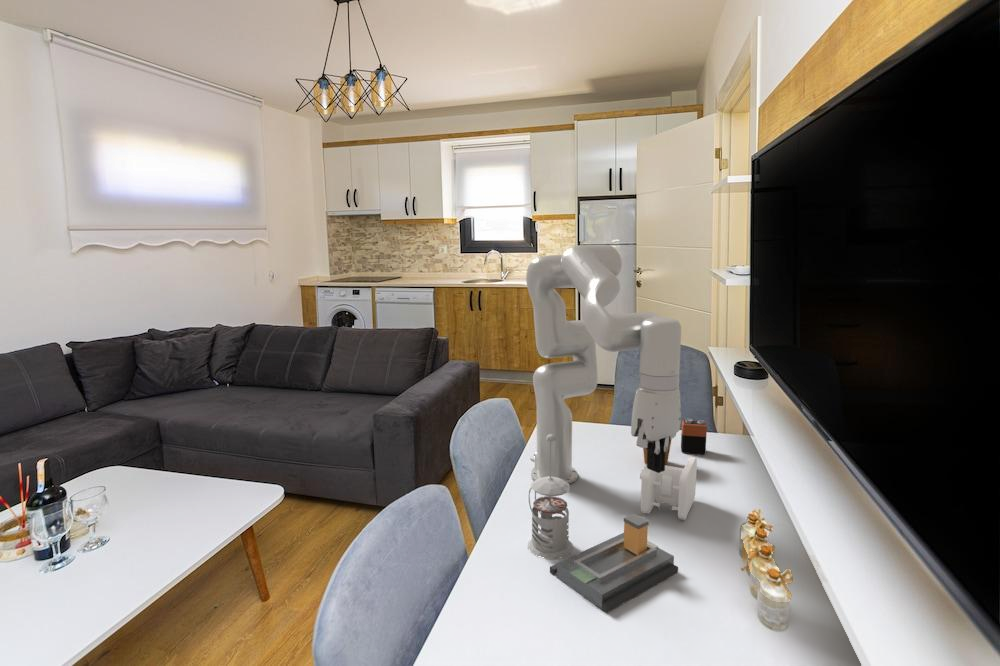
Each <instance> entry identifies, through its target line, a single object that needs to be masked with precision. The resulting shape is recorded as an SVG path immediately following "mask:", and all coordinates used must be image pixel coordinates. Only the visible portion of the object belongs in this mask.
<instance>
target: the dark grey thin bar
mask: <svg viewBox="0 0 1000 666" xmlns="http://www.w3.org/2000/svg"><path fill="white" fill-rule="evenodd" d="M678 573H679V566H677V565H676V564H674V565H672V566H670V567H668V568H666V569H664V570H663V571H661V572H659V573H657V574H655V575H654V576H652V577H650V578H648V579H646V580H644V581H643V582H641V583H639V584H637V585H635V586H633V587H632V588H630V589H628V590H626V591H624V592H623V593H621V594H619V595H617V596H615V597H613V598H612V599H610V600H608V601H606V602H604V603H602V610H601V611H603V612H604V613H606V614H607V613H610V612H612V611H613V610H615V609H617V608H618V607H620V606H622V605H623V604H625V603H627V602H628V601H630V600H632V599H634V598H636V597H637V596H639V595H640V594H643V593H645V592H646V591H648V590H650V589H652V588H654V587H655V586H657V585H658V583H659V584H661V583H662V582H664V581H666V580H667V579H669V578H671V577H672V576H674V575H676V574H678ZM660 582H661V583H660Z"/></svg>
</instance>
